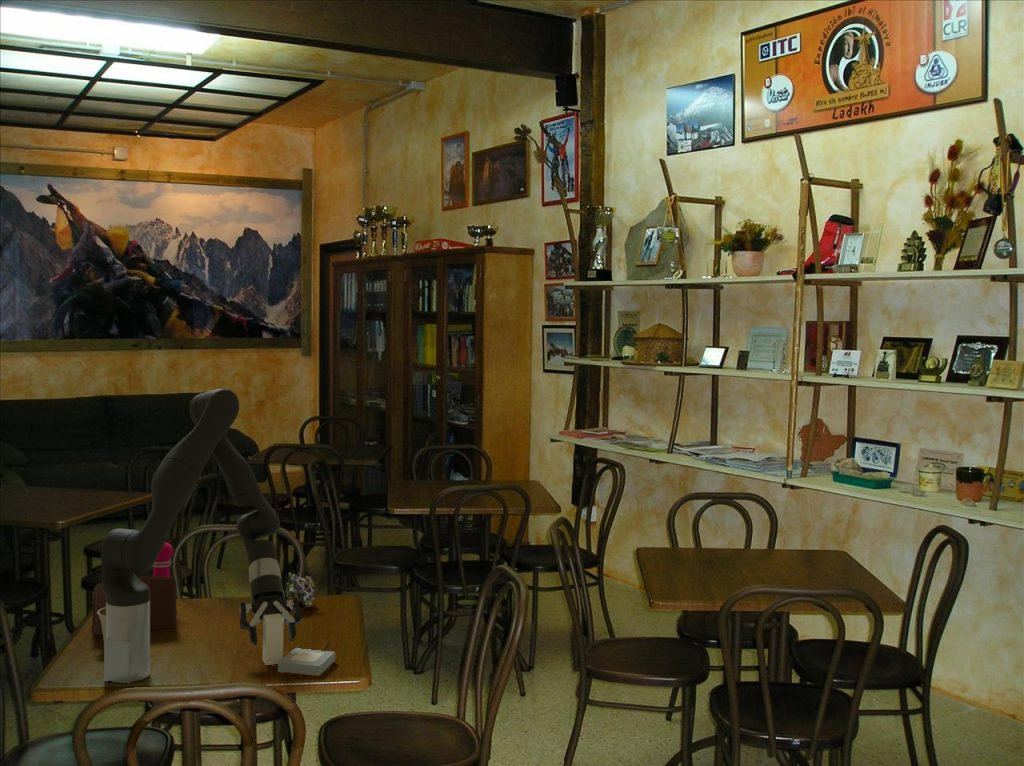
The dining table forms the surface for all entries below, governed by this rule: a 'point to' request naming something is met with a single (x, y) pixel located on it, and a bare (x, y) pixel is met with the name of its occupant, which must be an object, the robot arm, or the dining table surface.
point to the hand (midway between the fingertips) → (274, 641)
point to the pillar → (272, 638)
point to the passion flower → (300, 589)
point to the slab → (306, 661)
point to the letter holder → (159, 603)
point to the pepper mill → (163, 561)
